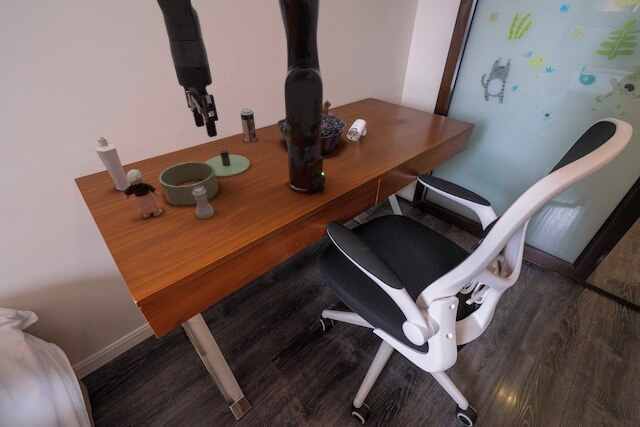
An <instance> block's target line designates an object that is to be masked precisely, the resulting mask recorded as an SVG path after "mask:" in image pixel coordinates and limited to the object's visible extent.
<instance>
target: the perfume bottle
mask: <svg viewBox="0 0 640 427" xmlns="http://www.w3.org/2000/svg"><path fill="white" fill-rule="evenodd" d="M96 140H97V142H98V144H99V146H97V148H95V152H96V154H97V155H98V157H99V159H100V161H101V162H102V164H103V166H104V167H105V169H106V172H108V174H109V176H110V177H111V179H112V181H113V182H114V184H115V189H116V190H119V191H123V192H124V191H125V190H126V189H127V188H128V187H129V186H130V185H131V183H129V182H128V181H127V178H126V177H127V174H126V173H125V170H124V168H123V165H122V161H121V159H120V156H119V153H118V150H117V148H116V145H115V144H113V143H109V142H108V139H107V137H106V136H99V137H97V138H96Z"/></svg>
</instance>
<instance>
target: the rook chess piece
mask: <svg viewBox="0 0 640 427" xmlns="http://www.w3.org/2000/svg"><path fill="white" fill-rule="evenodd" d="M194 188H195V189H193V192H192V194H193V195H195V199H196V201H197V204H196V207H195V208H196V209H195V214H196V215H195V216H196V217H197V218H199V219H208V218H210V217H212V216H213V215H214V213H215V211H214V207H213V205H211V203H209V201H208V200H207V198H206V197H207V195H205V193H206V189H204V187H203V186H201V187H200V186H198V188H197V187H194Z"/></svg>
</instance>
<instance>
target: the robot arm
mask: <svg viewBox="0 0 640 427" xmlns="http://www.w3.org/2000/svg"><path fill="white" fill-rule="evenodd" d="M277 1H278V6H279V12H280V16H281V20H282V24H283V30H284V33H285V34H284V35H285V39H286V60H287V61H286V64H287V65H286V76H285V80H284V86H283V88H284V90H283V91H284V92H283V94H284V111H285V118H286V123H287V139H288V146H287V158H288V161H287V162H288V163H287V164H288V186H289V188H290V189H291V190H293V191H295V192H298V193H307V194H311V193H313V192H315V191H316V190H319V188H321V189H320V193H324V192H325V190H326V186H325V184H326V176H325V175H324V172H323V170H324V156H321V154H320V148H321V124H322V106H323V103H324V83H323V77H322V73H321V67H320V59H319V49H318V25H319V15H320V2H321V0H277ZM156 2H157V5H158V7H159V10H160V11H161V13H162V14H161V15H162V18H163V23H164V27H165V31H166V34H167V38H168V44H169V51H170V57H171V59H172V63H173V68H174V70H175V75H176V78H177V83H178V84H179V86H180V87H183V90H184V96H185V99H186V104H187V107H188V109H190V112H191V113H192V115H193V120H194V124H195V126H196V127H197V128H202V127H205V129H206V134H207V137H209V138H215V137H217V136H218V130H217V125H216V122H218V121H219V114H218V111H217V107H216V102H215V96H214V94H211V93H208V90H207V87H208V86H211V85H212V83H213V78H212V73H211V68H210V62H209V57H208V52H207V48H206V46H205V41H204V37H203V31H202V27H201V21H200V17H199V14H198V11H197V10H196V9H195V8H194V6H193V3H192V0H156Z"/></svg>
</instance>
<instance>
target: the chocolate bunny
mask: <svg viewBox="0 0 640 427" xmlns="http://www.w3.org/2000/svg"><path fill="white" fill-rule="evenodd" d="M331 106H332V103H331V102H330V101H329V100H328V99H326V100H324V101H323V106H322V113H325V114H329V115H334V114H333V113H332V112H331V111H329V109H330V107H331Z"/></svg>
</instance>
